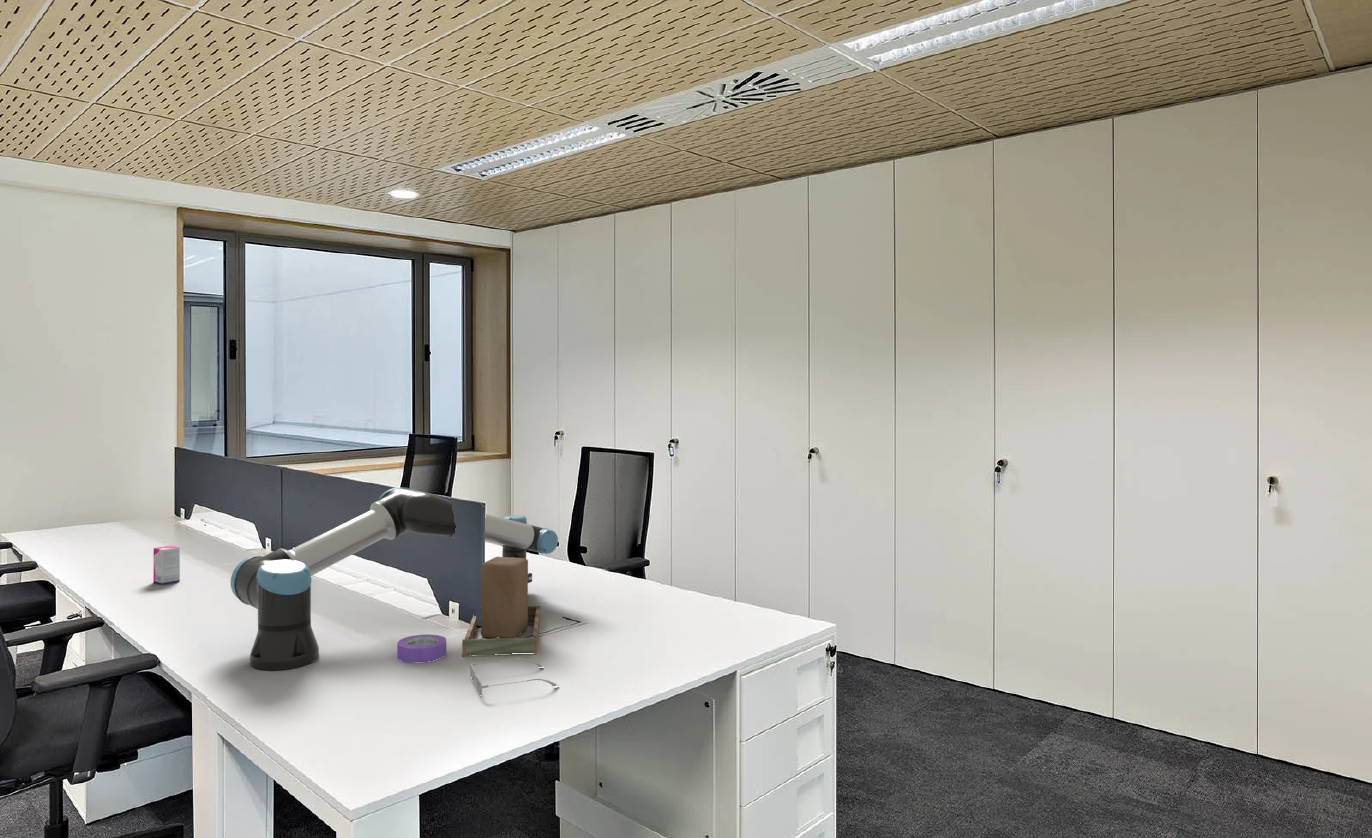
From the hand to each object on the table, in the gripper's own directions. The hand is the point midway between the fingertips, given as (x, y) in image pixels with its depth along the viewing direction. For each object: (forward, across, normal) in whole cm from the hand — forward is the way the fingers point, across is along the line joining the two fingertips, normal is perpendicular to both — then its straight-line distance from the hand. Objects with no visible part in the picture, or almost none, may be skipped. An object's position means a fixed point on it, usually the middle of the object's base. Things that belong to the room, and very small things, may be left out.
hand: (507, 591), depth 240 cm
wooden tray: (+10, 0, -9) cm, 14 cm away
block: (+9, 0, -9) cm, 13 cm away
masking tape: (+25, +19, -10) cm, 33 cm away
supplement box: (-56, +113, -9) cm, 126 cm away
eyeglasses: (+47, -5, -10) cm, 48 cm away
